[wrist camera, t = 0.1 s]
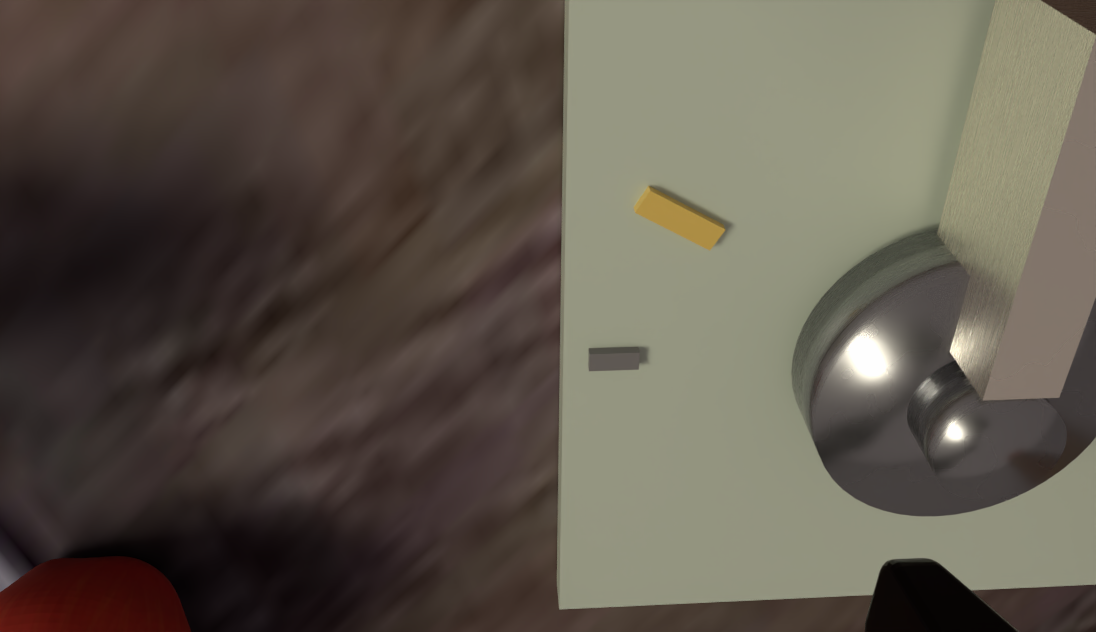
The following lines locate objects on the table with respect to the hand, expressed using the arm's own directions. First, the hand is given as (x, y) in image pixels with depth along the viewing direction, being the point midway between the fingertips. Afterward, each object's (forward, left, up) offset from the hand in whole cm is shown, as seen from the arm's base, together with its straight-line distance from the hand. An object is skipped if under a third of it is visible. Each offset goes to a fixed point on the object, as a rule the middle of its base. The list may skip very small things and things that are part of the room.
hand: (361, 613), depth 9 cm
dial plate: (-7, -12, -15) cm, 20 cm away
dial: (-5, -12, -13) cm, 18 cm away
